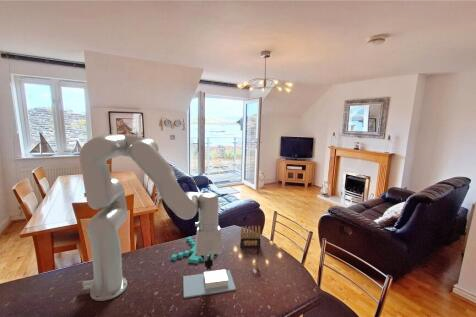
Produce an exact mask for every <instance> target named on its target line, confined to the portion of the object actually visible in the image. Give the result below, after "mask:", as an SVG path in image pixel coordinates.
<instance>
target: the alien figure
mask: <svg viewBox="0 0 476 317" xmlns="http://www.w3.org/2000/svg"><path fill="white" fill-rule="evenodd" d="M186 242H188V244H189V245H190V246H191V248H190V250H187V249H186V250H184V252H181V251H179V252H178V253H177V254H176V253H173V254H172V255H171V256H170V260H171V261H177V259H183V258H184V257H188V263H189V264H199V262H202V263H203V262H204V263H205V260H204V259H203V258H202V257H201V256H200V257H199V256H195V251H196V241H195V239H194V238H193V237H192V236H188V237H186ZM217 255H218V254H217ZM217 255H216V256H215V257H214V259H215V258H217ZM207 256H208V257H209V256H210V255H207Z"/></svg>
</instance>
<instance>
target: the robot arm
mask: <svg viewBox="0 0 476 317" xmlns="http://www.w3.org/2000/svg"><path fill="white" fill-rule="evenodd" d="M119 156H121V157H128V158H131V160H132V161H133V162H134V164H136V165H137V166H138V167H139V169H140V170H142V172H143V173H144V174H145V175H146V176H147V177H148V179H150V181H151V182H152V183H153V184H154V185H155V188H156V190H157V192H158V193H159V195H160V197H161V199H162V200H163V202H164V203H165V204H166V206H167V207H168V208H169V209H170V210H171V211H172V212H173V213H174V214H175V215H176V216H177V217H178V218H180V219H182V220H185V221H187V220H191V219H193V218H194V217H196V214H197V213H198V221H197V222H195V223H194V227H197V228H196V233H195V234H196V235H195V242H196V251H195V256H199V257H200V256H201V257H202V258H203V259H204V260H205V261H204V267H205V268H206V271H212V267H213V264H214V263H213V260H214V259H215V256H216V255H220V254H222V253H223V239H222V231H221V230H222V229H221V227H220V225H219V196H218V194H216V193H214V192H204V193H203V192H196V191H184V190H183V189H182V187H181V186H180V185H179V183H178V179H177V177H176V173H175V170H174V167H172V165H171V164H169V162H168V161H167V160H166V159H165V158H164V156H162V154H161V153H160V152H159V145H158V143H157V142H156V141H155V140H153V139H152V138H148V137H141V136H134V135H129V134H121V133H112V134H103V135H99V136H94V137H93V138H91V139H88V140H87V141H86V142H85V143H84V144H83V146H81V149H80V151H79V164H80V169H81V172H82V181H83V186H84V193H85V198H86V199H85V200H86V203H87V205H88V207H89V208H91V209H93V210H97V211H98V212H96V213H95V215H93V216H92V217H91V218H90V220H89V222H88V224H87V226H86V227H87V228H86V231H87V236H88V239H89V242H90V248H91V258H92V268H93V269H92V270H93V279H92V280H91V279H90V280H83V281H82V284H81V285H82V287H83V291H86V290H90V292H89V294H90V298H91V299H92V300H94V301H96V302H100V301H101V302H103V301H109V300H112V299H115V298H116V297H118V296H120V295H121V294H123V293H124V291H125V290H126V289H127V286H128V280H127V279H126V278H125V277H124V276H123V264H122V262H123V260H122V249H121V246H122V245H121V240H120V236H119V233H118V230H119V229H120V227H121V226H122V225H123V224H124V222H125V221H126V220H127V217H128V208H127V207H128V206H127V200H126V193H125V188H124V185H123V183H122V182H121V181H120V180H119V179H117V178H114V177H111V170H110V167H109V165H108V162H107V161H109V160H110V159H114V158H117V157H119ZM207 255H210V256H209V257H208V256H207ZM216 257H217V256H216Z"/></svg>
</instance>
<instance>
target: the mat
mask: <svg viewBox="0 0 476 317" xmlns="http://www.w3.org/2000/svg"><path fill="white" fill-rule="evenodd" d="M225 270H226V269H225ZM226 274H227V277H228V286H221V287H215V288H208V289H206V287H205V280H204V273H198V274H191V275H184V276H182V278H183V280H182V281H183V284H182V285H183V299H188V298H194V297H200V296H205V295H206V296H207V295H213V294H219V293H226V292H234V291H236V290H237V288H236V285H235V282H234V279H233V276H232V273H231V269H227V270H226Z"/></svg>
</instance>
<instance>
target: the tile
mask: <svg viewBox="0 0 476 317" xmlns="http://www.w3.org/2000/svg"><path fill="white" fill-rule="evenodd" d="M203 274H204V280H205V287H206V289H208V288H215V287H221V286H228V277H227V274H226V269H225V268H223V269H218V270H217V269H216V270H208V271H204V272H203Z"/></svg>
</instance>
